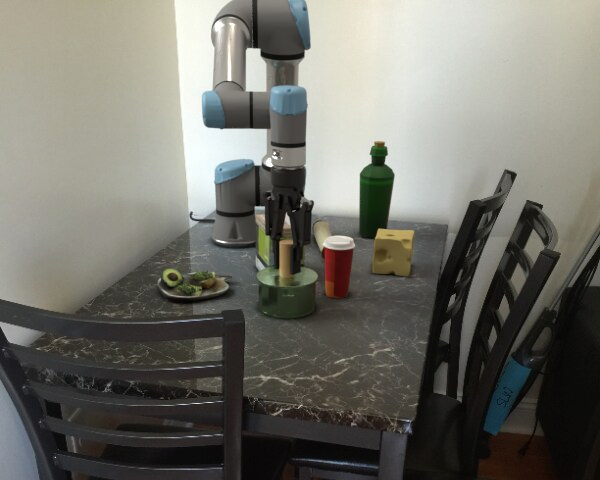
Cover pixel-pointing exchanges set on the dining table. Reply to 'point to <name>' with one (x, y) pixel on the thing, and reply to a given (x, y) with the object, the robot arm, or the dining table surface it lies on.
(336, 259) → the paper cup
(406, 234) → the cheese
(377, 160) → the bottle
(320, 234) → the rolling pin
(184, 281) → the salad plate
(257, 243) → the tea box
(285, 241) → the lid
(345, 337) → the dining table surface
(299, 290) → the pot
